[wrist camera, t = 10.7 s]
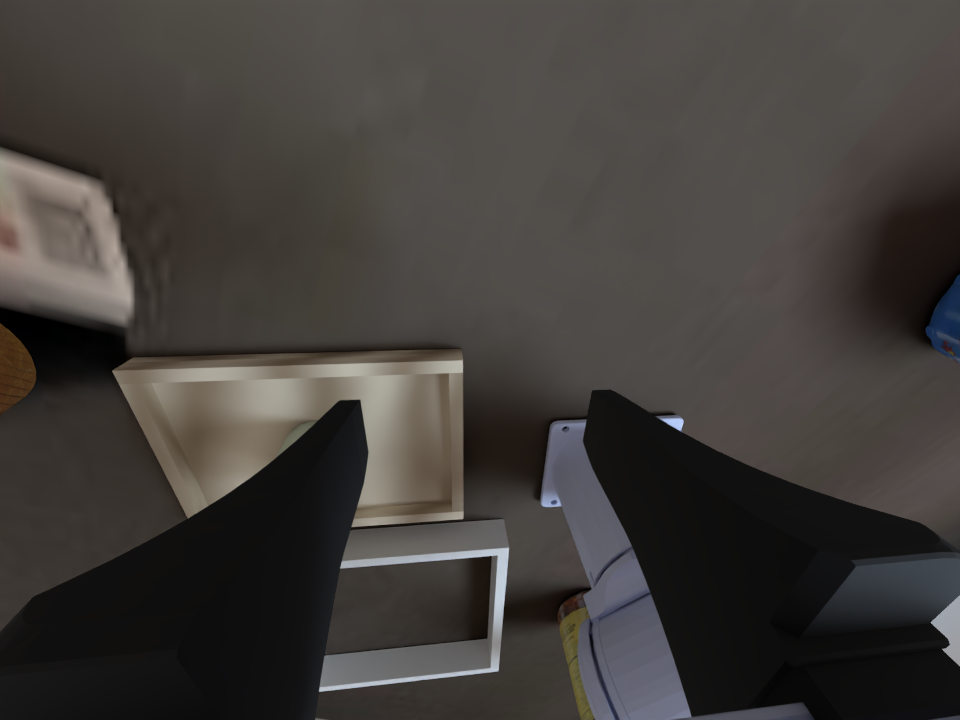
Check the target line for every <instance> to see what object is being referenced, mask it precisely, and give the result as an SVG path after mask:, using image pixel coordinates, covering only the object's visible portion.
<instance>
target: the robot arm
mask: <svg viewBox="0 0 960 720" xmlns="http://www.w3.org/2000/svg"><path fill="white" fill-rule="evenodd" d="M683 422H684V421H683V419H682V418H681V417H680V416H678V415H671V416H654V415H652V414H651V413H649V412H648V411H646V410H644V409H643V408H641V407H640V406H638V405H636V404H635V403H633V402H631V401H630V400H628V399H627V398H625V397H623V396H622V395H620V394H618V393H616V392H614V391H612V390H592V394H591V399H590V405H589V410H588V415H587V419H586V420H565V421H555V422H553V423H552V424H551V425H550V430H549V437H548V445H547V452H546V460H545V467H544V475H543V482H542V490H541V497H540V502H541V505H542V506H544V507H555V506H562V509H563V511H564V514H565V517H566V520H567V522H568V525H569V528H570V531H571V533H572V536H573V539H574V542H575V544H576V547H577V550H578V553H579V555H580V558H581V561H582V564H583V566H584V569H585V572H586V575H587V577H588V580H589V583H590V586H591V588H592V590H590V591H589V592H587V593H586V594H584V595H583V598H584V601H585V604H586V607H587V610H588V613H589V616H590V618H588V619H586V620H584V621H583V622H582V623H581V625H580V628H579V635H578V648H577V655H578V665H579V670H580V675H581V679H582V683H583V687H584V690H585V694H586V697H587V700H588V703H589V705H590V708H591V711H592V713H593V716H594V718H595V720H960V666H959V665H958V664H957V663H955V662H954V661H953V660H952V659H951V658H950V657H949V656H948V655H947V654H946V653H945V652H944V651H943V650H942V649H944V648H947V647H948V646H949V645H950V644H949V641H948V639H947V638H946V637H945V636H944V635H943V634H942V633H941V632H940V631H938V629H936V628H935V627H934V626H933V625H932V624H931V623H930V622H931V621H932V620H933V619H935V618H936V617H937V616H938V615H939V614H940V613H941V612H942V611H943V610H944V609H945V608H946V607H947V606H948V605H949V604H951V603H952V602H953V601H954V600H955V599H956V598H957V597H958V596H959V595H960V551H959V550H958V549H956V548H955V547H954V546H952V545H951V544H950V543H948V542H947V541H945V540H944V539H943V538H941V537H940V536H939V535H937V534H936V533H935V532H933V531H932V530H930V529H929V528H928V527H926V526H924V525H923V524H921V523H919V522H915V521H912V520H908V519H905V518H901V517H898V516H894V515H891V514H887V513H884V512H880V511H877V510H873V509H870V508H866V507H863V506H859V505H856V504H852V503H849V502H846V501H843V500H840V499H837V498H834V497H831V496H828V495H825V494H822V493H819V492H816V491H813V490H810V489H807V488H804V487H802V486H799V485H796V484H793V483H791V482H788V481H786V480H783V479H781V478H778V477H775V476H773V475H770V474H768V473H765V472H763V471H760V470H758V469H756V468H753V467H751V466H749V465H746V464H744V463H742V462H740V461H738V460H735V459H733V458H731V457H729V456H727V455H725V454H723V453H721V452H718V451H716V450H714V449H712V448H710V447H709V446H707V445H705V444H703V443H701V442H699V441H697V440H695V439H694V438H692V437H690V436H688V435H686V434H684V433H683V432H682V431H681V429H682V426H683ZM566 426H567V428H565V429H562V428H563V427H566ZM368 454H369V451H368V445H367V438H366V432H365V426H364V419H363V413H362V407H361V401H360V399H359V400H339V401H338V402H337V403H336V404H335V405H334V406H333V407H332V408H331V409H329V410H328V411H327V412H326V413H325V414H324V415H323V416H322V417H321V418H320V419H319V420H318V421H317V422H316V423H315V424H314V425H313V426H312V427H311V428H309V429H308V430H307V431H306V432H305V433H304V434H303V435H302V436H301V437H300V438H299V439H297V440H296V441H295V442H294V443H293V444H292V445H290V446H289V447H288V448H287V449H286V450H285V451H283V452H282V453H281V454H280V455H279V456H277V457H276V458H275V459H274V460H273V461H271V462H270V463H269V464H268V465H266V466H265V467H264V468H263V469H261V470H260V471H259V472H257V473H256V474H255V475H253V476H252V477H251V478H249V479H248V480H246V481H245V482H244V483H242V484H241V485H239V486H238V487H236V488H235V489H234V490H232V491H231V492H229V493H228V494H226V495H225V496H223V497H222V498H220V499H218V500H217V501H215V502H214V503H212V504H210V505H209V506H207V507H206V508H204V509H202V510H201V511H199V512H198V513H196V514H194V515H193V516H191V517H190V518H188V519H186V520H185V521H183V522H181V523H180V524H178V525H176V526H174V527H173V528H171V529H169V530H167V531H165V532H164V533H162V534H160V535H158V536H156V537H155V538H153V539H151V540H149V541H147V542H145V543H143V544H141V545H140V546H138V547H136V548H134V549H132V550H130V551H128V552H126V553H124V554H122V555H120V556H118V557H116V558H114V559H113V560H111V561H109V562H106V563H104V564H102V565H100V566H98V567H96V568H94V569H92V570H90V571H88V572H85V573H83V574H81V575H79V576H77V577H75V578H73V579H71V580H69V581H66V582H64V583H62V584H60V585H58V586H56V587H54V588H52V589H50V590H47V591H45V592H43V593H41V594H38V595H36V596H34V597H33V598H32V599H31V600H30V601H29V602H28V603H27V604H26V605H25V606H24V607H23V608H22V609H21V610H20V611H19V613H18V614H17V615H16V616H15V617H14V618H13V619H12V620H11V621H10V622H9V623H8V624H7V625H6V626H5V627H4V628H3V629H2V631H1V632H0V720H315V715H316V708H317V701H318V694H319V688H320V681H321V675H322V668H323V662H324V656H325V649H326V643H327V637H328V632H329V626H330V620H331V614H332V608H333V603H334V597H335V592H336V587H337V581H338V576H339V571H340V567H341V563H342V558H343V554H344V551H345V547H346V544H347V541H348V537H349V534H350V530H351V527H352V523H353V520H354V516H355V513H356V510H357V506H358V503H359V499H360V496H361V492H362V488H363V485H364V480H365V474H366V468H367V461H368Z"/></svg>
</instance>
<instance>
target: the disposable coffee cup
mask: <svg viewBox="0 0 960 720" xmlns="http://www.w3.org/2000/svg"><path fill="white" fill-rule="evenodd" d="M35 382H36V369H35V366H34V363H33V360H32V358H31V356H30V354H29V352H28V350H27V349H26V348H25V347H24V345H23V344H22V343H21V341H20V340H19V339H18V338H17V337H16V336H15V335H14V334H13V333H11V332H10V331H9V330H8V329H7V328H6V327H4V326H3V325H2V324H0V415H1V414H2V413H3V412H5V411H6V410H8V409H9V408H10V407H12V406H13V405H14V404H16V403H17V402H19V401H20V400H21V399H23V398H24V397H26V396H27V395H28V393H29V392H30V391H31V390H32V388H33V387H34V384H35Z"/></svg>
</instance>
